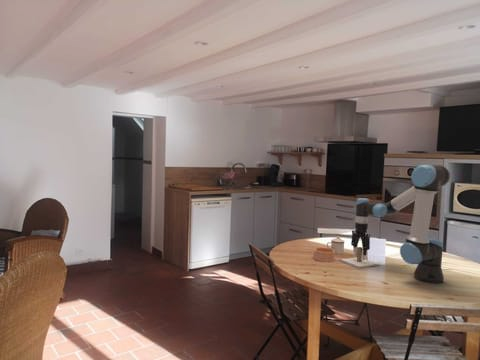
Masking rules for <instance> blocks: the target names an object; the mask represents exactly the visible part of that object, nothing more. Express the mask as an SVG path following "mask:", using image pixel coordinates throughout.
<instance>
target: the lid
mask: <svg viewBox="0 0 480 360" xmlns="http://www.w3.org/2000/svg"><path fill="white" fill-rule="evenodd" d="M362 249H363V246H362V247H361V246H358V250H357V257H355V258H354V257H350V258H343V259H342V258H341V259H340V260H341V261H342V262H341V263H343V262H345V263H348V264H350V265H353V266H356V267H358V268H362V267H370V266H377V265H379V263H377V262H374V261H372V260H369V259H365V260H361V258H362ZM345 263H344V264H345ZM348 264H347V265H348ZM350 265H349V266H350ZM353 266H352V267H353ZM356 267H355V268H356ZM377 267H378V266H377ZM358 268H357V269H358ZM370 268H371V267H370ZM362 269H363V268H362Z"/></svg>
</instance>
